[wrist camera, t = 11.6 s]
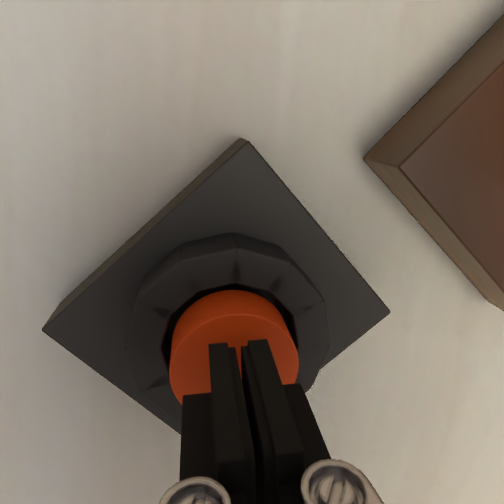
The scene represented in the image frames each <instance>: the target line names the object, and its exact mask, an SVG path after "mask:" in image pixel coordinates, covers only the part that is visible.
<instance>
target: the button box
mask: <svg viewBox="0 0 504 504" xmlns="http://www.w3.org/2000/svg"><path fill="white" fill-rule="evenodd" d="M224 290H243V291H248V292H252V293H255V294H257V295H259V296H262V297H263V298H265V299H266V300H268V301H269V302H270V303H272V304H273V305H274V306H275V307H276V308H277V310H278V311H279V312H280V314H281V316H282V317H283V320H284V322H285V324H286V326H287V329H288V331H289V333H290V335H291V338H292V340H293V342H294V345H295V347H296V350H297V353H298V360H299V366H298V374H297V378H296V381H295V383H300V384H301V386H302V388H303V390H304V392H307V391H308V390H309V389H310V388H311V386H312V385H313V383H314V381H315V379H316V376H317V374H318V372H319V370H320V369H321V368H322V367H324V366H325V365H326V364H327V363H328V362H330V361H331V360H332V359H333V358H335V357H336V356H337V355H338V354H340V353H341V352H342V351H343V350H345V349H346V348H347V347H348V346H350V345H351V344H352V343H353V342H355V341H356V340H357V339H358V338H360V337H361V336H362V335H363V334H365V333H366V332H367V331H368V330H370V329H371V328H372V327H373V326H375V325H376V324H377V323H378V322H380V321H381V320H382V319H383V318H384V317H386V316H387V315H388V314H389V313H390V310H389V309H388V307H387V306H386V305H385V304H384V303H383V301H382V300H381V299H380V298H379V297H378V295H377V294H376V293H375V292H374V291H373V289H372V288H371V287H370V286H369V285H368V283H367V282H366V281H365V280H364V279H363V277H362V276H361V275H360V274H359V273H358V271H357V270H356V269H355V268H354V267H353V265H352V264H351V263H350V262H349V261H348V259H347V258H346V257H345V256H344V255H343V253H342V252H341V251H340V250H339V249H338V247H337V246H336V245H335V244H334V243H333V241H332V240H331V239H330V238H329V237H328V235H327V234H326V233H325V232H324V231H323V229H322V228H321V227H320V226H319V225H318V223H317V222H316V221H315V220H314V219H313V217H312V216H311V215H310V214H309V213H308V211H307V210H306V209H305V208H304V207H303V205H302V204H301V203H300V202H299V200H298V199H297V198H296V197H295V196H294V194H293V193H292V192H291V191H290V190H289V188H288V187H287V186H286V185H285V184H284V182H283V181H282V180H281V179H280V178H279V176H278V175H277V174H276V173H275V172H274V170H273V169H272V168H271V167H270V166H269V164H268V163H267V162H266V161H265V160H264V158H263V157H262V156H261V155H260V154H259V152H258V151H257V150H256V149H255V148H254V146H253V145H252V144H251V143H250V142H249V141H247V140H245V139H243V138H239V139H238V140H237V141H236V142H235V143H234V144H233V145H232V146H231V147H229V148H228V149H227V150H226V151H225V152H224V153H223V154H222V155H221V156H220V157H219V158H217V159H216V160H215V161H214V162H213V163H212V164H211V165H210V166H209V167H208V168H207V169H205V170H204V171H203V172H202V173H201V174H200V175H199V176H198V177H197V178H196V179H195V180H194V181H192V182H191V183H190V184H189V185H188V186H187V187H186V188H185V189H184V190H183V191H182V192H180V193H179V194H178V195H177V196H176V197H175V198H174V199H173V200H172V201H171V202H170V203H168V204H167V205H166V206H165V207H164V208H163V209H162V210H161V211H160V212H159V213H158V214H156V215H155V216H154V217H153V218H152V219H151V220H150V221H149V222H148V223H147V224H146V225H145V226H143V227H142V228H141V229H140V230H139V231H138V232H137V233H136V234H135V235H134V236H133V237H131V238H130V239H129V240H128V241H127V242H126V243H125V244H124V245H123V246H122V247H121V248H119V249H118V250H117V251H116V252H115V253H114V254H113V255H112V256H111V257H110V258H109V259H108V260H106V261H105V262H104V263H103V264H102V265H101V266H100V267H99V268H98V269H97V270H96V271H94V272H93V273H92V274H91V275H90V276H89V277H88V278H87V279H86V280H85V281H84V282H82V283H81V284H80V285H79V286H78V287H77V288H76V289H75V290H74V291H73V292H72V293H70V294H69V295H68V296H67V297H66V298H65V299H64V300H63V301H62V302H61V303H60V304H59V305H58V307H57V308H56V310H55V311H54V312H53V314H52V315H51V317H50V318H49V320H48V321H47V322H46V324H45V325H44V327H43V328H42V331H43V332H44V333H46V334H47V335H48V336H50V337H51V338H52V339H54V340H55V341H56V342H58V343H59V344H60V345H62V346H63V347H64V348H66V349H67V350H68V351H70V352H71V353H72V354H74V355H75V356H76V357H78V358H79V359H80V360H82V361H83V362H84V363H86V364H87V365H88V366H90V367H91V368H92V369H94V370H95V371H96V372H98V373H99V374H100V375H102V376H103V377H104V378H106V379H107V380H108V381H110V382H111V383H112V384H114V385H115V386H116V387H118V388H119V389H121V390H122V391H123V392H125V393H126V394H127V395H129V396H130V397H131V398H133V399H134V400H135V401H137V402H138V403H139V404H141V405H142V406H143V407H145V408H146V409H147V410H149V411H150V412H151V413H153V414H154V415H155V416H157V417H158V418H159V419H161V420H162V421H163V422H165V423H166V424H167V425H169V426H170V427H171V428H173V429H174V430H175V431H177V432H178V433H179V434H181V425H182V405H181V403H180V402H179V401H178V399H177V398H176V396H175V394H174V392H173V390H172V387H171V383H170V377H169V369H170V358H171V347H172V336H173V332H174V329H175V326H176V324H177V322H178V320H179V318H180V317H181V315H182V314H183V313H184V312H185V310H186V309H187V308H188V307H189V306H190V305H192V304H193V303H194V302H196V301H197V300H199V299H201V298H202V297H204V296H207V295H209V294H211V293H215V292H218V291H224Z"/></svg>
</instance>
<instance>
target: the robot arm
mask: <svg viewBox="0 0 504 504" xmlns="http://www.w3.org/2000/svg"><path fill="white" fill-rule="evenodd" d="M208 349H209V366H210V383H211V392H208V393H199V394H189V395H183V399H182V425H181V454H180V481H179V482H177V483H176V484H175V485H173V486H172V487H171V488H169V489H168V490H167V491H166V493H165V494H164V495H163V497H162V498H161V500H160V502H159V504H384V503H383V501H382V500H381V498H380V497H379V495H378V493H377V492H376V490H375V489H374V487H373V486H372V484H371V483H370V481H369V480H368V479H367V477H366V476H365V475H364V474H363V473H362V472H361V471H360V470H359V469H357V468H356V467H355V466H353V465H352V464H349V463H347V462H344V461H342V460H335V459H331V457H330V455H329V452H328V450H327V447H326V445H325V442H324V440H323V437H322V435H321V432H320V430H319V427H318V425H317V422H316V420H315V417H314V415H313V412H312V410H311V407H310V405H309V402H308V400H307V397H306V395H305V392H304V390H303V388H302V386H301V384H300V383H294V384H284V385H282V382H281V379H280V376H279V373H278V370H277V367H276V364H275V361H274V358H273V355H272V352H271V349H270V346H269V343H268V340H267V339H259V340H248V345H247V346H241V375H240V370H239V364H238V359H237V353H236V348H235V347H228V343H227V342H225V343H214V344H208ZM241 378H242V381H241Z"/></svg>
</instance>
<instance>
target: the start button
mask: <svg viewBox="0 0 504 504" xmlns="http://www.w3.org/2000/svg"><path fill="white" fill-rule="evenodd" d="M259 339H267V340H268V343H269V346H270V349H271V352H272V355H273V358H274V361H275V364H276V367H277V370H278V373H279V376H280V379H281V382H282V385H284V384H294V383H295V381H296V378H297V374H298V366H299V360H298V353H297V350H296V347H295V345H294V342H293V340H292V338H291V335H290V333H289V331H288V329H287V326H286V324H285V322H284V320H283V317H282V316H281V314H280V312H279V311H278V310H277V308H276V307H275V306H274V305H273V304H272V303H270V302H269V301H268V300H266V299H265V298H263V297H262V296H259V295H257V294H255V293H252V292H248V291H243V290H224V291H218V292H215V293H211V294H209V295H207V296H204V297H202V298H201V299H199V300H197V301H196V302H194V303H193V304H192V305H190V306H189V307H188V308H187V309H186V310H185V312H184V313H183V314H182V315H181V317H180V318H179V320H178V322H177V324H176V326H175V329H174V332H173V336H172V347H171V358H170V369H169V377H170V383H171V387H172V390H173V392H174V394H175V396H176V398H177V399H178V401H179V402H180V403H181V405H182V399H183V395H189V394H199V393H208V392H211V383H210V366H209V349H208V344H214V343H225V342H227V343H228V347H235V348H236V353H237V359H238V364H239V370H240V375H241V346H247V345H248V340H259ZM241 381H242V378H241Z"/></svg>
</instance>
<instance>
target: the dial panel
mask: <svg viewBox="0 0 504 504" xmlns="http://www.w3.org/2000/svg"><path fill="white" fill-rule="evenodd" d="M364 160H365V162H366V163H367V164H368V165H369V166H370V167H371V168H372V170H373V171H374V172H375V173H376V174H377V175H378V176H379V178H380V179H381V180H382V181H383V182H384V183H385V184H386V185H387V187H388V188H389V189H390V190H391V191H392V192H393V193H394V195H395V196H396V197H397V198H398V199H399V200H400V201H401V203H402V204H403V205H404V206H405V207H406V208H407V209H408V211H409V212H410V213H411V214H412V215H413V216H414V217H415V218H416V220H417V221H418V222H419V223H420V224H421V225H422V226H423V228H424V229H425V230H426V231H427V232H428V233H429V234H430V236H431V237H432V238H433V239H434V240H435V241H436V242H437V243H438V245H439V246H440V247H441V248H442V249H443V250H444V251H445V253H446V254H447V255H448V256H449V257H450V258H451V259H452V261H453V262H454V263H455V264H456V265H457V266H458V267H459V269H460V270H461V271H462V272H463V273H464V274H465V275H466V276H467V278H468V279H469V280H470V281H471V282H472V283H473V284H474V286H475V287H476V288H477V289H478V290H479V291H480V292H481V294H482V295H483V296H484V297H485V298H486V299H487V300H488V301H489V302H490V303H492V304H493V305H495V306H496V307H498V308H500V309H501V310H503V311H504V15H503V16H502V17H501V18H500V19H499V20H498V21H497V22H496V23H495V24H494V25H493V26H492V27H491V28H490V29H489V30H488V31H487V33H486V34H485V35H484V36H483V37H482V38H481V39H480V40H479V41H478V42H477V43H476V44H475V45H474V46H473V47H472V48H471V49H470V50H469V51H468V52H467V53H466V54H465V55H464V56H463V57H462V58H461V59H460V60H459V61H458V62H457V63H456V64H455V65H454V66H453V67H452V68H451V69H450V70H449V71H448V72H447V73H446V74H445V75H444V76H443V77H442V78H441V79H440V80H439V81H438V82H437V83H436V84H435V85H434V86H433V87H432V88H431V90H430V91H429V92H428V93H427V94H426V95H425V96H424V97H423V98H422V99H421V100H420V101H419V102H418V103H417V104H416V105H415V106H414V107H413V108H412V109H411V110H410V111H409V112H408V113H407V114H406V115H405V116H404V117H403V118H402V119H401V120H400V121H399V122H398V123H397V124H396V125H395V126H394V127H393V128H392V129H391V130H390V131H389V132H388V133H387V134H386V135H385V136H384V137H383V138H382V139H381V140H380V141H379V142H378V143H377V144H376V145H375V146H374V148H373V149H372V150H371V151H370V152H369V153H368V154H367V155H366V156H365V157H364Z"/></svg>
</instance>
